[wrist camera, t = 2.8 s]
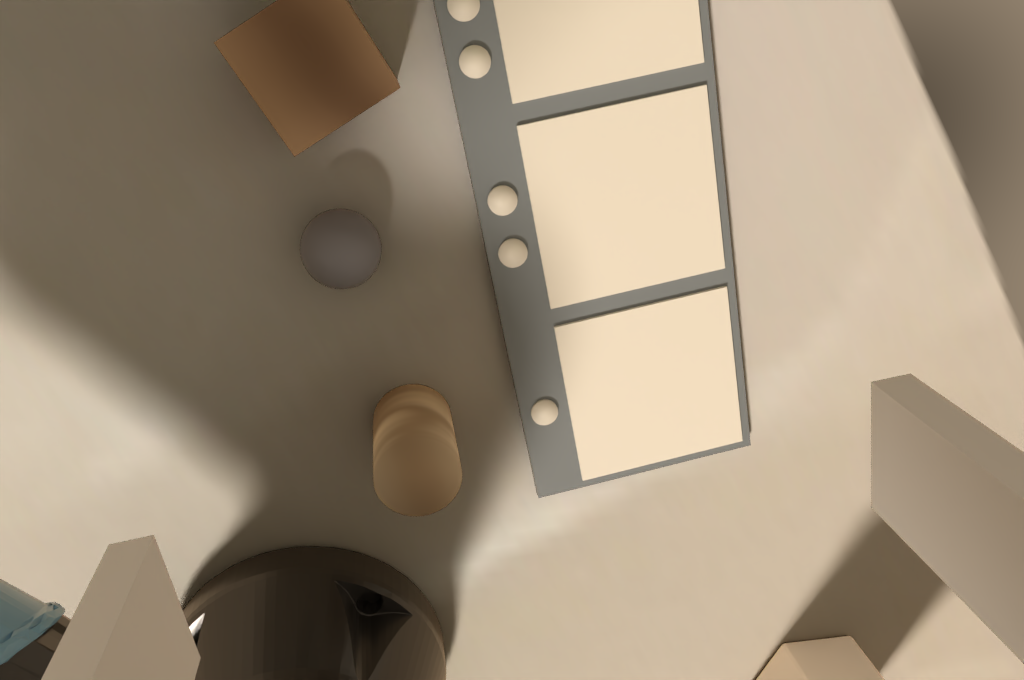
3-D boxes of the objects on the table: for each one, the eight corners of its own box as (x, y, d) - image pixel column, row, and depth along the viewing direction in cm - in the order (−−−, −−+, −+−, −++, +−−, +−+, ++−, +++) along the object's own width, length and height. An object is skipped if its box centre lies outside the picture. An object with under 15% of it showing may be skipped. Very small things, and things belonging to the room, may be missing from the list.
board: (536, 492, 47) (539, 500, 46) (408, -117, 36) (409, -121, 35) (746, 440, 48) (751, 446, 47) (685, -172, 36) (691, -176, 36)
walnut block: (303, 139, 39) (294, 156, 34) (233, 39, 37) (213, 42, 32) (397, 79, 38) (400, 87, 34) (331, -26, 36) (325, -32, 32)
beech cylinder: (383, 462, 45) (385, 525, 39) (364, 394, 43) (363, 450, 38) (458, 443, 45) (470, 504, 40) (441, 376, 44) (451, 428, 38)
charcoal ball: (315, 283, 41) (310, 307, 38) (293, 210, 40) (286, 229, 36) (389, 266, 41) (390, 289, 38) (370, 193, 40) (370, 210, 36)
